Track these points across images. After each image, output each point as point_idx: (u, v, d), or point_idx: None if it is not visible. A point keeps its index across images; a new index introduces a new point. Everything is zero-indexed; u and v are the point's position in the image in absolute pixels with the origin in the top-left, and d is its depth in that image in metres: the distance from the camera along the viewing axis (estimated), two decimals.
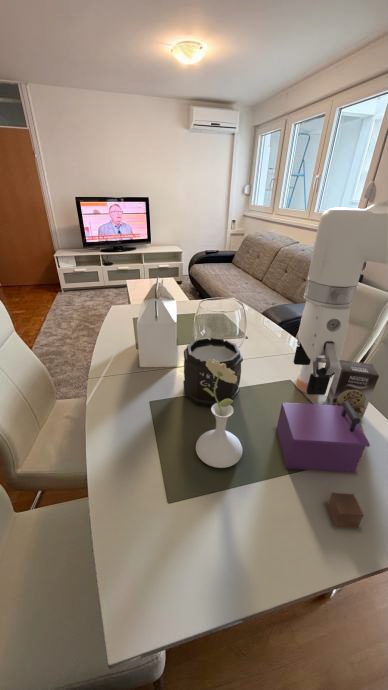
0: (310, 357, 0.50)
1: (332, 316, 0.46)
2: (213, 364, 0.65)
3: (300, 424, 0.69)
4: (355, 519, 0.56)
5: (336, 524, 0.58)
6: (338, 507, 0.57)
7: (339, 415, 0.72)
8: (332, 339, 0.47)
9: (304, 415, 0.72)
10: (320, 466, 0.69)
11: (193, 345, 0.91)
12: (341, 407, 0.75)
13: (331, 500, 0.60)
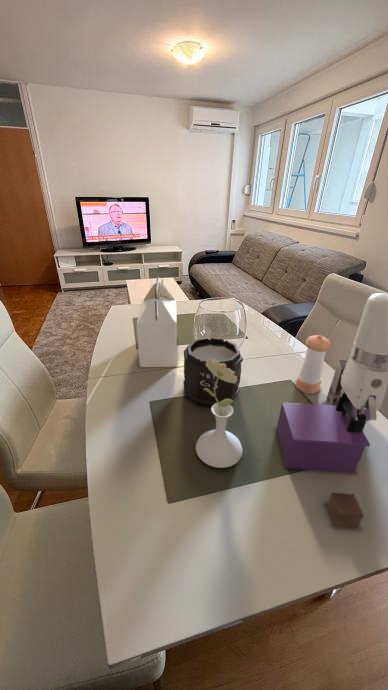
0: (355, 405, 0.63)
1: (375, 377, 0.58)
2: (213, 364, 0.65)
3: (300, 424, 0.69)
4: (355, 519, 0.56)
5: (336, 524, 0.58)
6: (338, 507, 0.57)
7: (339, 415, 0.72)
8: (374, 394, 0.60)
9: (304, 415, 0.72)
10: (320, 466, 0.69)
11: (193, 345, 0.91)
12: None
13: (331, 500, 0.60)
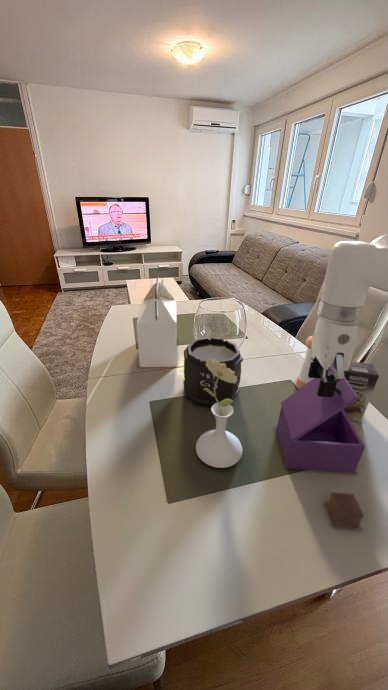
0: (323, 366, 0.59)
1: (342, 332, 0.54)
2: (213, 364, 0.65)
3: (296, 418, 0.68)
4: (355, 519, 0.56)
5: (336, 524, 0.58)
6: (338, 507, 0.57)
7: None
8: (342, 351, 0.56)
9: (299, 404, 0.70)
10: (320, 466, 0.69)
11: (193, 345, 0.91)
12: None
13: (331, 500, 0.60)
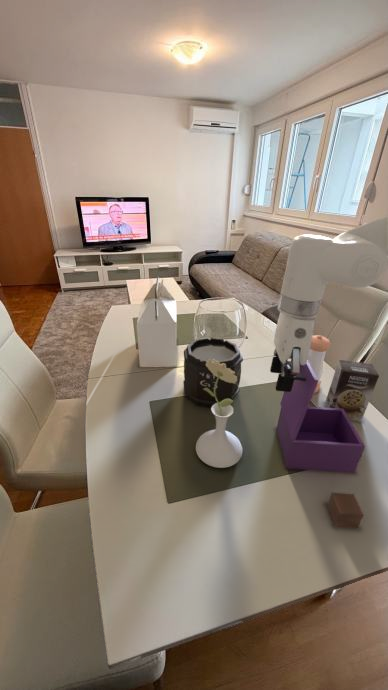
0: (281, 360, 0.58)
1: (299, 326, 0.54)
2: (213, 364, 0.65)
3: (289, 416, 0.68)
4: (355, 519, 0.56)
5: (336, 524, 0.58)
6: (338, 507, 0.57)
7: None
8: (299, 345, 0.56)
9: (288, 401, 0.70)
10: (320, 466, 0.69)
11: (193, 345, 0.91)
12: None
13: (331, 500, 0.60)
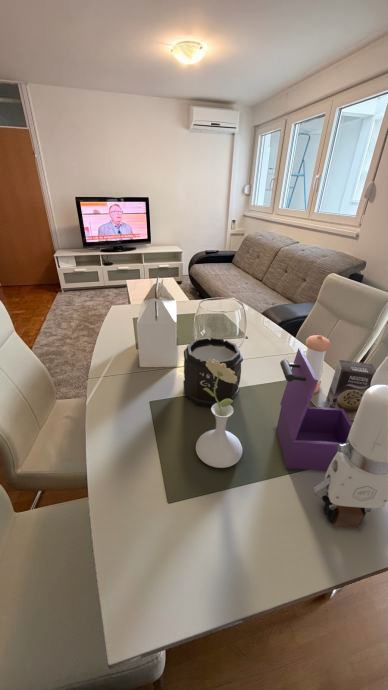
0: None
1: (337, 458, 0.53)
2: (213, 364, 0.65)
3: (289, 416, 0.68)
4: (355, 519, 0.56)
5: (336, 524, 0.58)
6: (338, 507, 0.57)
7: (298, 368, 0.67)
8: (331, 476, 0.54)
9: (288, 401, 0.70)
10: (320, 466, 0.69)
11: (193, 345, 0.91)
12: (296, 355, 0.69)
13: None
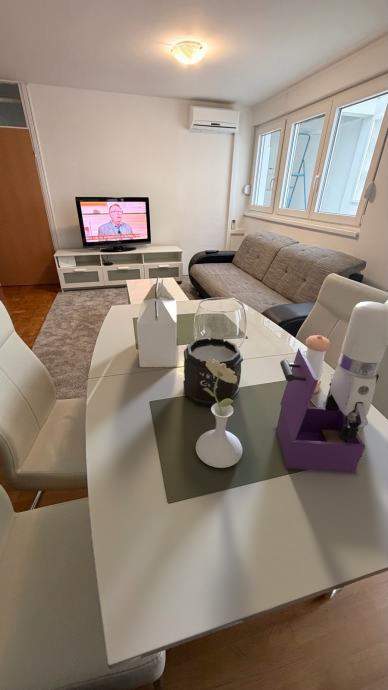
0: (343, 412, 0.64)
1: (362, 384, 0.59)
2: (213, 364, 0.65)
3: (289, 416, 0.68)
4: None
5: None
6: None
7: (298, 368, 0.67)
8: (362, 400, 0.61)
9: (288, 401, 0.70)
10: (320, 466, 0.69)
11: (193, 345, 0.91)
12: (296, 355, 0.69)
13: None
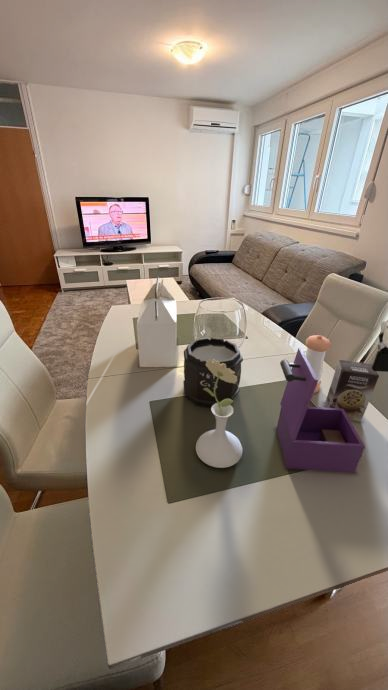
0: None
1: None
2: (213, 364, 0.65)
3: (289, 416, 0.68)
4: None
5: None
6: None
7: (298, 368, 0.67)
8: None
9: (288, 401, 0.70)
10: (320, 466, 0.69)
11: (193, 345, 0.91)
12: (296, 355, 0.69)
13: None
